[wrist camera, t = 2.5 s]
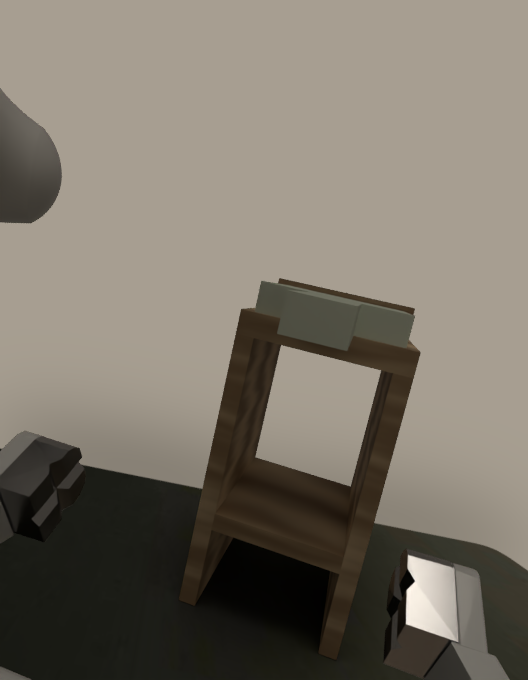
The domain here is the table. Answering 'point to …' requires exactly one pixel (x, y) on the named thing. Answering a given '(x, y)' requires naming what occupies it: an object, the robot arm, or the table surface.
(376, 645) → the table surface
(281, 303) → the grey paddle board
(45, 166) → the robot arm
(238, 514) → the rack
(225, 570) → the table surface
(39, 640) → the table surface
